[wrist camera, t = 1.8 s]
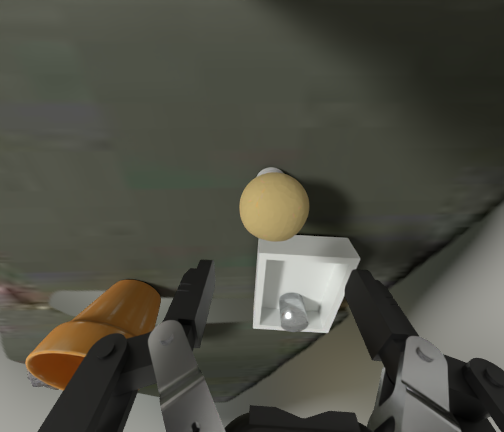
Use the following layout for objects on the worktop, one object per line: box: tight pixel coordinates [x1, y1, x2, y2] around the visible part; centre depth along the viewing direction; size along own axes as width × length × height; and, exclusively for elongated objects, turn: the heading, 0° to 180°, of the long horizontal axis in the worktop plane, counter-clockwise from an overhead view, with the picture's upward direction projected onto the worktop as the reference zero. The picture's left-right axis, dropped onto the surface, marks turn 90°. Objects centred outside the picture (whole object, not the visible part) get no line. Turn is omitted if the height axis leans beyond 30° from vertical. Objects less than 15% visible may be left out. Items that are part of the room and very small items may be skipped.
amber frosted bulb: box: [240, 167, 309, 242], centre depth 20 cm, size 6×6×10 cm
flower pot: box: [26, 280, 161, 391], centre depth 32 cm, size 14×14×13 cm
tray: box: [253, 235, 360, 333], centre depth 30 cm, size 16×12×6 cm
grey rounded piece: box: [279, 292, 308, 332], centre depth 31 cm, size 4×4×4 cm
